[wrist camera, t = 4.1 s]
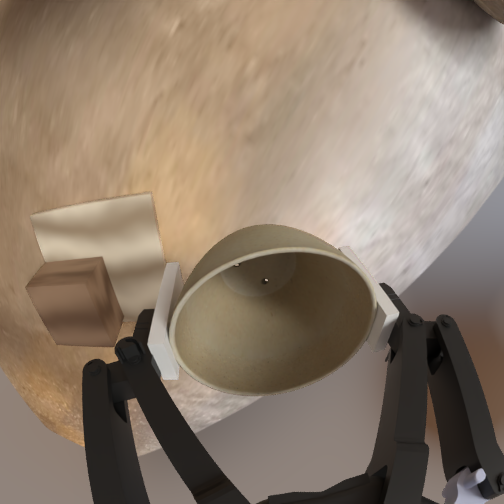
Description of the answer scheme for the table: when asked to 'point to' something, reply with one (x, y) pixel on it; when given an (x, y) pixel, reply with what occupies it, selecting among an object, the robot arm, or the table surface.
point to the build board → (110, 244)
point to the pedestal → (77, 302)
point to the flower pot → (270, 312)
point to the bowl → (493, 8)
